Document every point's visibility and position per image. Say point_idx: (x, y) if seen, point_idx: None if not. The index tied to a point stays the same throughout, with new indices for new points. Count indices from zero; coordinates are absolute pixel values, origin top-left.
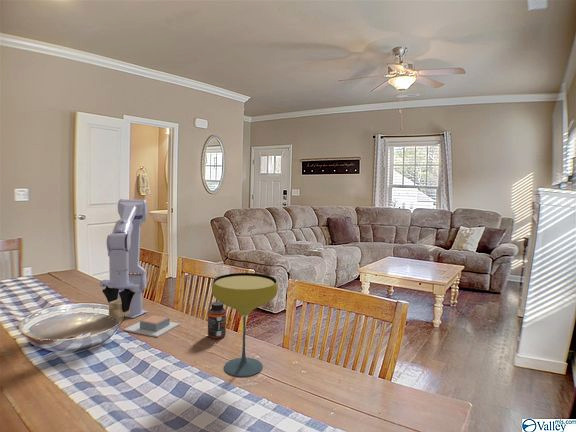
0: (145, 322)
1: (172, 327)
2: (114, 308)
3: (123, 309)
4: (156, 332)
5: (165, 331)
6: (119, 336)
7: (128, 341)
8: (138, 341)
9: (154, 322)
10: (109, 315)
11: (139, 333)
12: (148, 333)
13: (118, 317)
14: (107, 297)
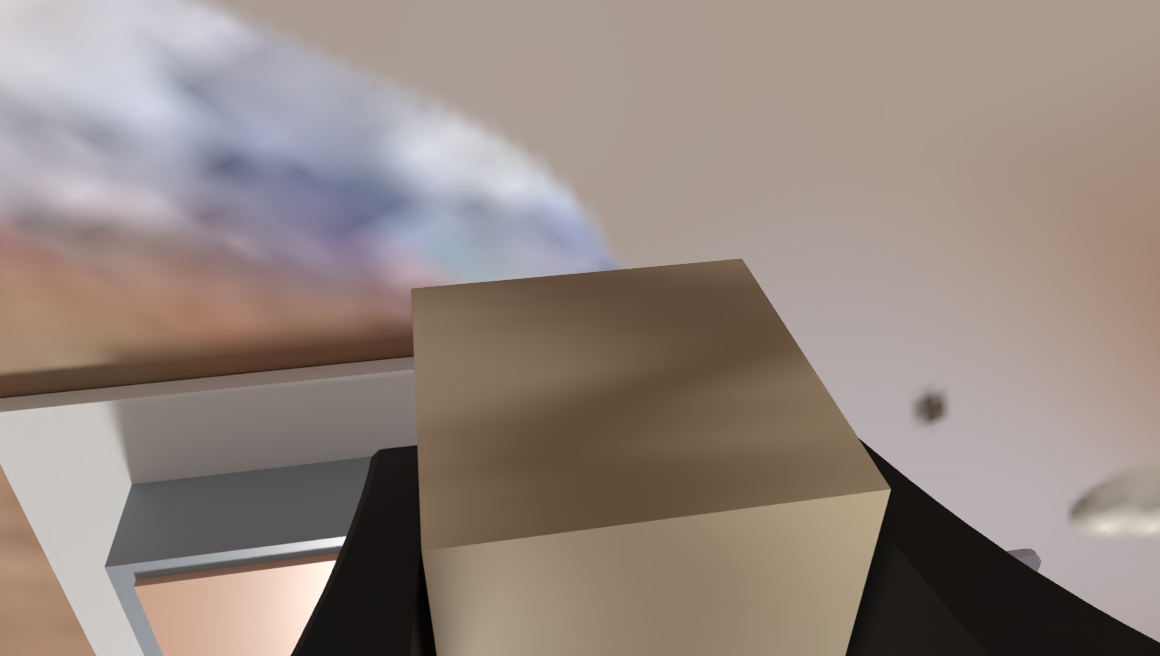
0: (333, 543)
1: (92, 643)
2: (621, 412)
3: (373, 492)
4: (113, 474)
5: (42, 543)
6: (510, 176)
7: (221, 106)
8: (82, 179)
9: (194, 594)
10: (729, 268)
11: (330, 366)
12: (178, 407)
13: (455, 291)
14: (1056, 630)
